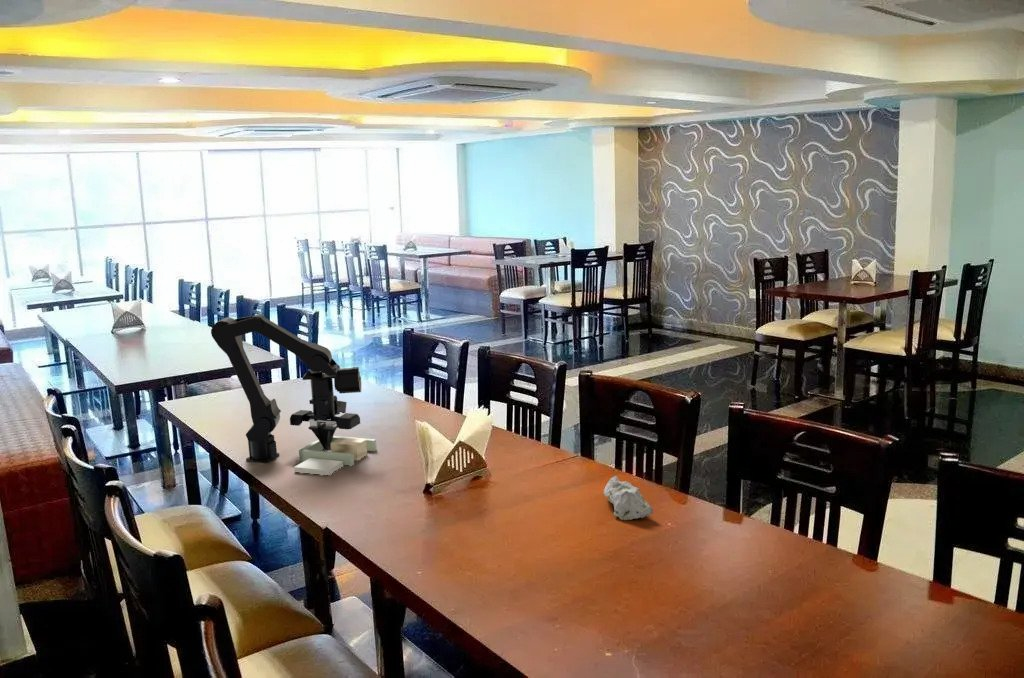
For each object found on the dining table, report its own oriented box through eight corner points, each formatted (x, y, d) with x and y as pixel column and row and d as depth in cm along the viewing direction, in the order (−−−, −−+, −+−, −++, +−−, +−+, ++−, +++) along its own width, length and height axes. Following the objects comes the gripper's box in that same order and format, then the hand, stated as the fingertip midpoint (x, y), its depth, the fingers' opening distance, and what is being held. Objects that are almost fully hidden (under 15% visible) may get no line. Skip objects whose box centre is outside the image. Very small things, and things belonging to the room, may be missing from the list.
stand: (294, 472, 208) (294, 467, 208) (309, 463, 215) (309, 458, 215) (328, 476, 205) (328, 470, 205) (343, 466, 212) (342, 461, 211)
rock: (591, 499, 185) (591, 471, 184) (620, 495, 188) (620, 467, 186) (623, 526, 171) (623, 496, 170) (653, 520, 173) (653, 490, 172)
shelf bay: (299, 461, 217) (298, 450, 216) (326, 445, 229) (325, 435, 229) (351, 466, 212) (351, 455, 211) (376, 449, 224) (375, 439, 224)
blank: (331, 458, 219) (330, 442, 218) (341, 452, 223) (340, 437, 222) (357, 461, 216) (356, 445, 215) (367, 455, 220) (366, 439, 220)
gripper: (368, 388, 223) (372, 443, 226) (309, 385, 229) (313, 438, 232) (347, 399, 213) (351, 456, 216) (286, 395, 219) (291, 450, 222)
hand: (327, 449), depth 221 cm, fingers closed
